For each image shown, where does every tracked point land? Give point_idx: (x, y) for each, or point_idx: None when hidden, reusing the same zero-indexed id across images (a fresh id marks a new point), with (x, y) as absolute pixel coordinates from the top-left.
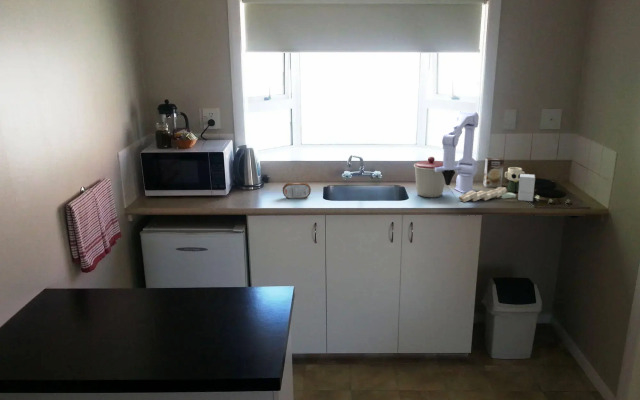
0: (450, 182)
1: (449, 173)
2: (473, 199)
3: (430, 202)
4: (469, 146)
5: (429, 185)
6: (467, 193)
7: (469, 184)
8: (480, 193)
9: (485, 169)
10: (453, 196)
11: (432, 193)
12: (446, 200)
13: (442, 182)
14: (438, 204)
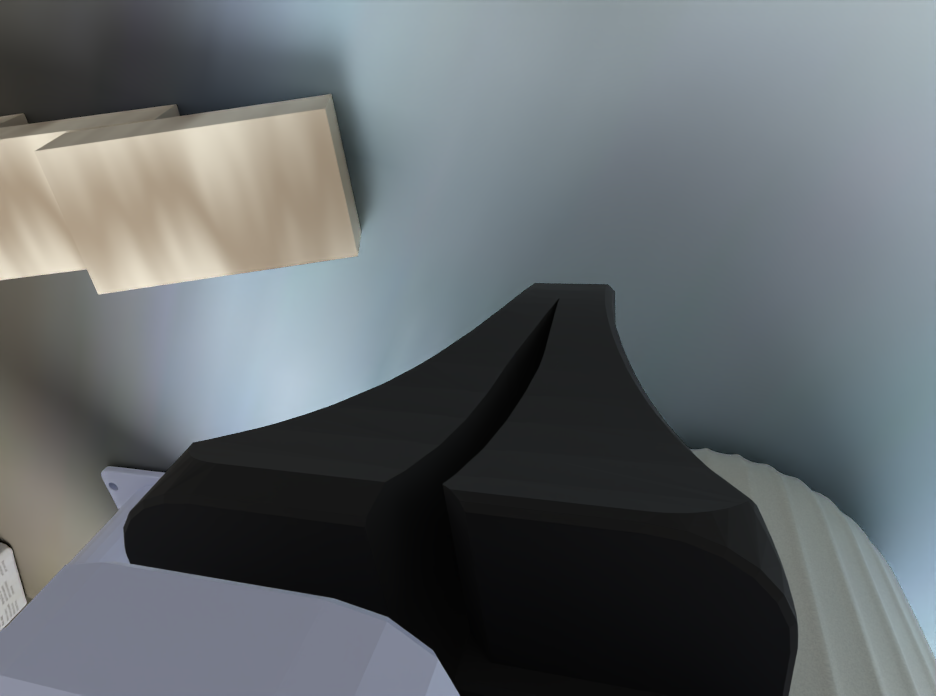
0: (500, 309)
1: (531, 486)
2: (161, 113)
3: (931, 244)
4: None
5: (843, 621)
6: (195, 248)
7: (109, 548)
8: (3, 190)
9: None
10: None
11: (750, 480)
12: (569, 274)
13: None
14: (866, 69)
